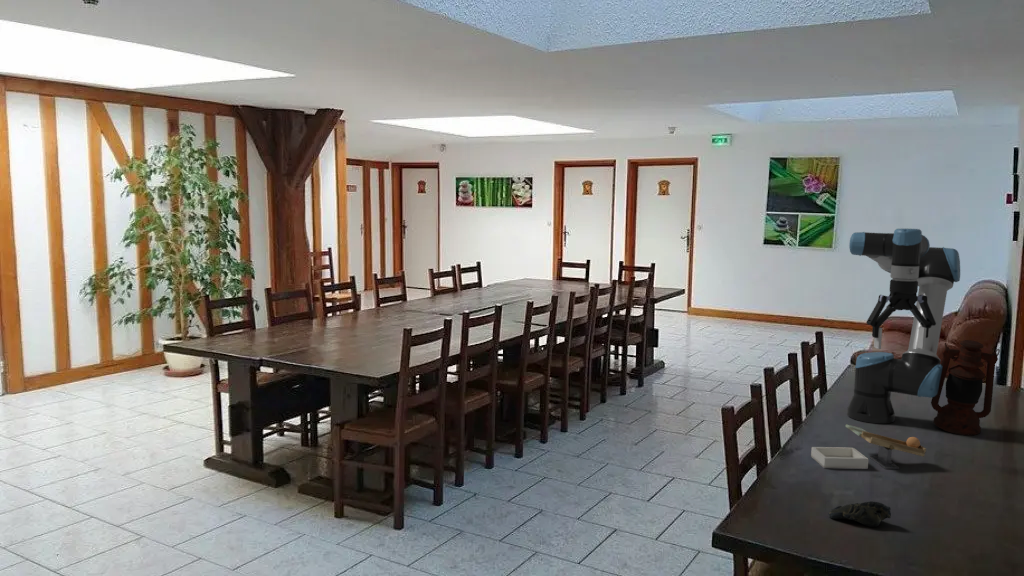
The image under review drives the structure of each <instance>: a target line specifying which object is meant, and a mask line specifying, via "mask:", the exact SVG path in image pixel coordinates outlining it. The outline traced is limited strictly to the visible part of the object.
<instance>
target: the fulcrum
mask: <svg viewBox="0 0 1024 576" xmlns="http://www.w3.org/2000/svg"><path fill="white" fill-rule="evenodd" d="M892 453H893V451H892V449H890V448H887V447H883V446H879V445H878V455H869V458H870V459H871V460H872V461H874V462H875V463H877V464H878V465H879V466H880V467H881V468H883V469H885V470H900V466H898V465H897V464H896V463H894V462H893V461H892Z"/></svg>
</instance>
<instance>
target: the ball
mask: <svg viewBox="0 0 1024 576" xmlns="http://www.w3.org/2000/svg"><path fill="white" fill-rule="evenodd" d="M905 442H906V444H907V446H910V447H914V448H918V447H919V446H920V445H921V441H920V439H919V438H918V437H916V436H911V437H908V438H907V439H906V441H905Z"/></svg>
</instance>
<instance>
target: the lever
mask: <svg viewBox="0 0 1024 576" xmlns="http://www.w3.org/2000/svg"><path fill="white" fill-rule="evenodd" d="M845 428H846V429H848V430H850V431H851V432H853V433H854V434H855V435H857V436H858V437H860V438H862V439H863V440H865V441H867V443H870V444H872V445H876V446H878V447H879V446H883V447H887V448H890V449H891V450H896V451H901V452H904V453H908V454H913V455H917V456H920V457H925V455H926V451H927V448H925V447H924V446H923V445H921V444H920V446H919V447H918V448H914V447H910V446H907V444H906V441H905V440H901V439H898V438H893V437H889V436H885V435H881V434H876V433H873V432H868V431H867V430H865V429H863V428H862V427H859V426H854V425H850V424H845Z"/></svg>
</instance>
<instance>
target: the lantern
mask: <svg viewBox="0 0 1024 576" xmlns="http://www.w3.org/2000/svg"><path fill="white" fill-rule="evenodd" d="M959 344H960V348H959V349H957V348H956V349H955V348H954V349H953V348H950V347H949V346H948V344H947V343H946V342H944V349H943V351H942V353H941V354H942V360H941V362H940V364H941V365H942V366H943V368H942V373H941V378H940V383H939V388H938V393H937V395H936V396H935V397H932V398H931V401H930V405H931V407H932V408H933V410H935V411H936V412H937V414H936V416H935V417H934V418H933V424H934V425H935V426H936V427H938V428H939V429H941V430H943V431H945V432H948V433H951V434H955V435H959V436H976V435H979V434H980V433H981V432H982V427H981V425H980V424H981V420H980V419H983V418H986V417H988V416H989V415H990V413H991V411H992V402H993V392H994V391H993V390H994V382H995V374H996V373H995V372H996V371H995V370H996V364H997V362H998V361H999V358H998V356H999V355H1000V352H1001V350H1000V349H999V348H998V349H996V350H995V351H994V352H992V353H987V352H982V349H983V348H984V344H982V343H981V342H979V341H978V340H977V341H976V340H972V339H964V340H961V341H959ZM950 360H952V361H953V362H954V363H956V364H953V365H952V366H950V365H949V364H950ZM984 363H987V367H986V373H984V371H983V370H982V369H981V368H983V367H984V365H985V364H984ZM949 366H950V367H949ZM947 372H948V373H949V374H948V375H947ZM946 375H947V376H946ZM946 377H947V378H946ZM945 379H946V381H945ZM984 379H985V386H984V387H985V388H984V398H983V407H982V408H983V409H982V410H981V411H975V410H974V408H975V407H976V405H977V404H978V403H979V401H980V398H981V395H982V393H983V383H984V382H983V380H984ZM944 384H945V397H946V399H947V403H946V404H945V405H943V406H941V405H940V404H939V402H940V399H941V394H942V391H943V388H944V387H943V386H944Z"/></svg>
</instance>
